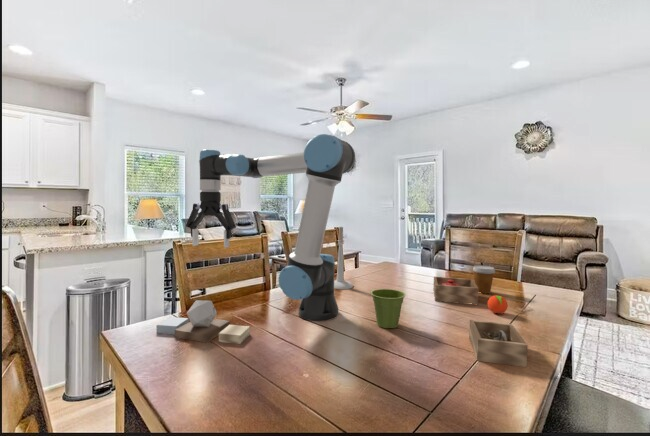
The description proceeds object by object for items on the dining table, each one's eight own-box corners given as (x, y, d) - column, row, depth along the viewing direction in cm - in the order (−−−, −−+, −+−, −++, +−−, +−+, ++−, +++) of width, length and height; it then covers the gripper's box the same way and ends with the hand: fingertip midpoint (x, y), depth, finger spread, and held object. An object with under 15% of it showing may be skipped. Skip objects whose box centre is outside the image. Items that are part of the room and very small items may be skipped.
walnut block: (229, 329, 112) (229, 320, 112) (207, 344, 100) (207, 335, 100) (199, 325, 115) (199, 316, 115) (174, 339, 104) (174, 329, 104)
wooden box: (471, 294, 153) (472, 279, 153) (477, 304, 138) (478, 288, 138) (433, 290, 158) (433, 276, 158) (435, 301, 143) (435, 285, 142)
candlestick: (329, 282, 172) (329, 224, 170) (353, 283, 171) (354, 225, 169) (325, 288, 160) (326, 226, 158) (352, 290, 158) (353, 227, 156)
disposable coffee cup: (495, 291, 158) (496, 266, 157) (492, 296, 150) (494, 270, 149) (473, 288, 163) (474, 264, 163) (470, 293, 155) (471, 267, 155)
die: (198, 335, 102) (218, 308, 104) (177, 319, 103) (196, 293, 105) (207, 332, 110) (225, 307, 112) (187, 318, 111) (205, 293, 113)
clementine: (510, 318, 123) (511, 299, 123) (490, 316, 125) (491, 298, 124) (503, 311, 131) (504, 293, 131) (485, 309, 133) (485, 292, 132)
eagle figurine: (473, 342, 99) (492, 352, 90) (486, 320, 100) (505, 327, 91) (496, 357, 99) (517, 368, 90) (508, 335, 100) (530, 343, 91)
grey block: (188, 326, 113) (188, 318, 113) (176, 335, 106) (176, 326, 106) (169, 325, 114) (169, 317, 114) (156, 334, 107) (156, 324, 107)
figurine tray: (510, 343, 102) (511, 324, 102) (526, 367, 88) (527, 345, 87) (469, 338, 105) (469, 319, 105) (477, 360, 91) (478, 339, 90)
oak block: (249, 335, 106) (249, 326, 106) (240, 345, 100) (240, 335, 99) (229, 333, 108) (229, 324, 108) (218, 342, 101) (218, 333, 101)
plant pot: (406, 321, 119) (407, 290, 119) (402, 333, 108) (403, 300, 107) (373, 316, 123) (374, 287, 122) (367, 328, 112) (367, 296, 111)
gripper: (244, 191, 127) (244, 246, 128) (188, 191, 133) (189, 243, 135) (234, 191, 120) (235, 249, 121) (175, 190, 126) (176, 246, 127)
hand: (210, 246), depth 128 cm, fingers open, 13 cm apart
